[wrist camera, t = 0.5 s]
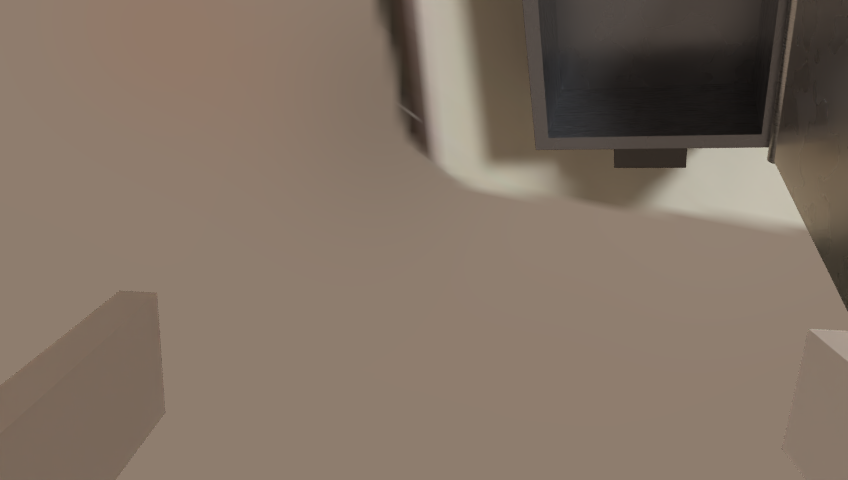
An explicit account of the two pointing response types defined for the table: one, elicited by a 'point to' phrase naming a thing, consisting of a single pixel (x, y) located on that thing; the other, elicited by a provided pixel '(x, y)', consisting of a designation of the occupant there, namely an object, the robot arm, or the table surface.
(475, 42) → the table surface
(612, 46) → the metal tin
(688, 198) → the table surface
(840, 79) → the lid
